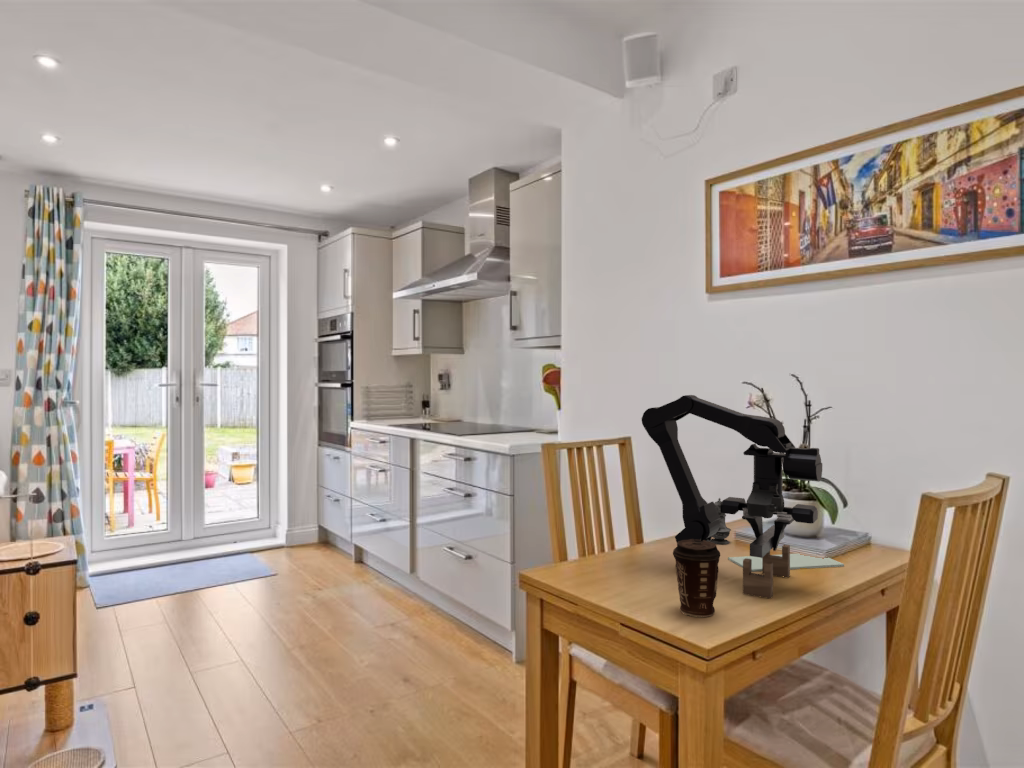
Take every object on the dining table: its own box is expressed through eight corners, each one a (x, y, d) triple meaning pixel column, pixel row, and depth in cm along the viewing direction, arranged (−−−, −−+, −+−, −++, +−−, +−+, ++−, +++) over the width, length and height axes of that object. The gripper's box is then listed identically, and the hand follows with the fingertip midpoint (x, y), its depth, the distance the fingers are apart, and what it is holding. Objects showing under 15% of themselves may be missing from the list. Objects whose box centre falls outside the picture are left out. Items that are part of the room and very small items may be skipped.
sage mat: (750, 571, 143) (750, 569, 143) (728, 559, 153) (728, 557, 153) (844, 566, 147) (844, 564, 147) (816, 554, 157) (816, 552, 157)
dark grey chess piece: (727, 539, 172) (727, 496, 172) (733, 545, 166) (733, 500, 166) (706, 539, 173) (706, 495, 172) (710, 544, 167) (710, 499, 167)
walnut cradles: (770, 598, 126) (770, 565, 126) (742, 593, 129) (742, 560, 129) (789, 575, 140) (789, 545, 140) (764, 571, 144) (764, 541, 143)
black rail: (762, 557, 126) (762, 545, 126) (749, 555, 127) (749, 544, 127) (784, 537, 142) (784, 526, 142) (773, 535, 143) (773, 525, 143)
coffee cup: (698, 600, 125) (698, 535, 125) (730, 614, 118) (730, 545, 117) (664, 608, 121) (664, 541, 121) (696, 623, 113) (696, 551, 113)
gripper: (712, 478, 133) (712, 551, 133) (808, 486, 122) (808, 566, 123) (727, 471, 142) (728, 540, 142) (818, 479, 131) (818, 553, 132)
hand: (767, 549), depth 134 cm, fingers closed on black rail, 2 cm apart
